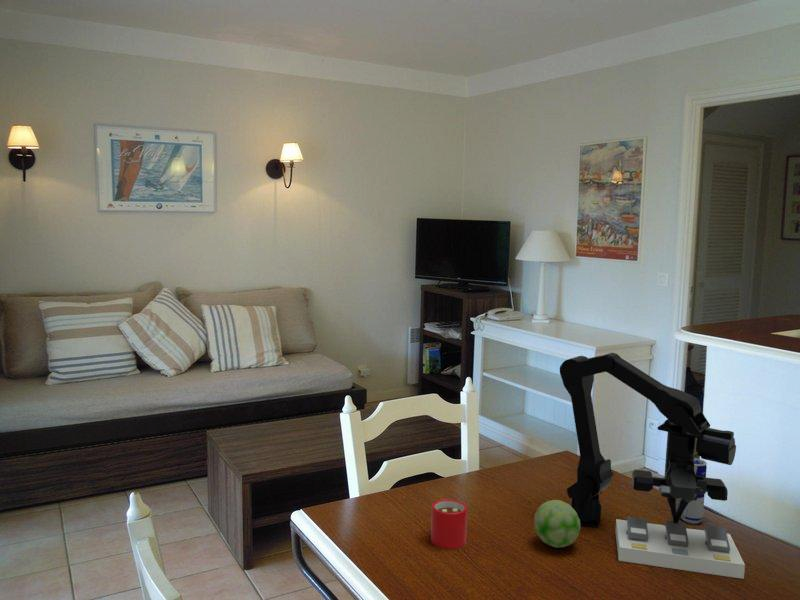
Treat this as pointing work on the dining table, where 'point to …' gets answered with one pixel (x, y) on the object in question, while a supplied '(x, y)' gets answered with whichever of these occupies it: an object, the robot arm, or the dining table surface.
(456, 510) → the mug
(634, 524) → the block
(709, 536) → the block
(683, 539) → the grey box
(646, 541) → the console
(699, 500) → the beverage can
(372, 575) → the dining table surface
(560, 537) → the decorative ball
